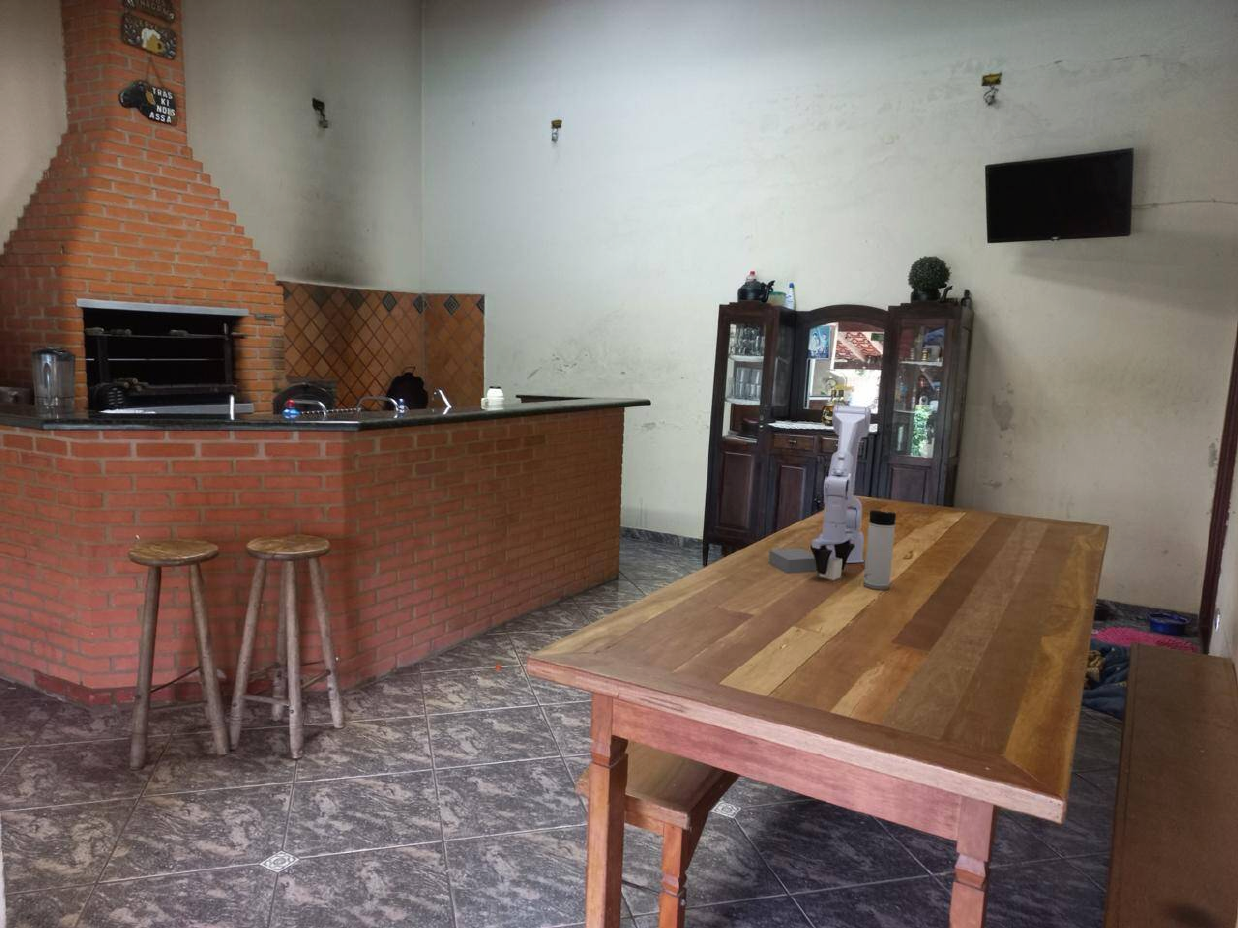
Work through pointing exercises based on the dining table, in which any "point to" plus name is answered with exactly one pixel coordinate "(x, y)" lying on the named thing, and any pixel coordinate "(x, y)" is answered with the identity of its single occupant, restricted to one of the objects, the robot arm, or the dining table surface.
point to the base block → (793, 560)
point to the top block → (833, 568)
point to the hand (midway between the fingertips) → (830, 571)
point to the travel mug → (879, 550)
